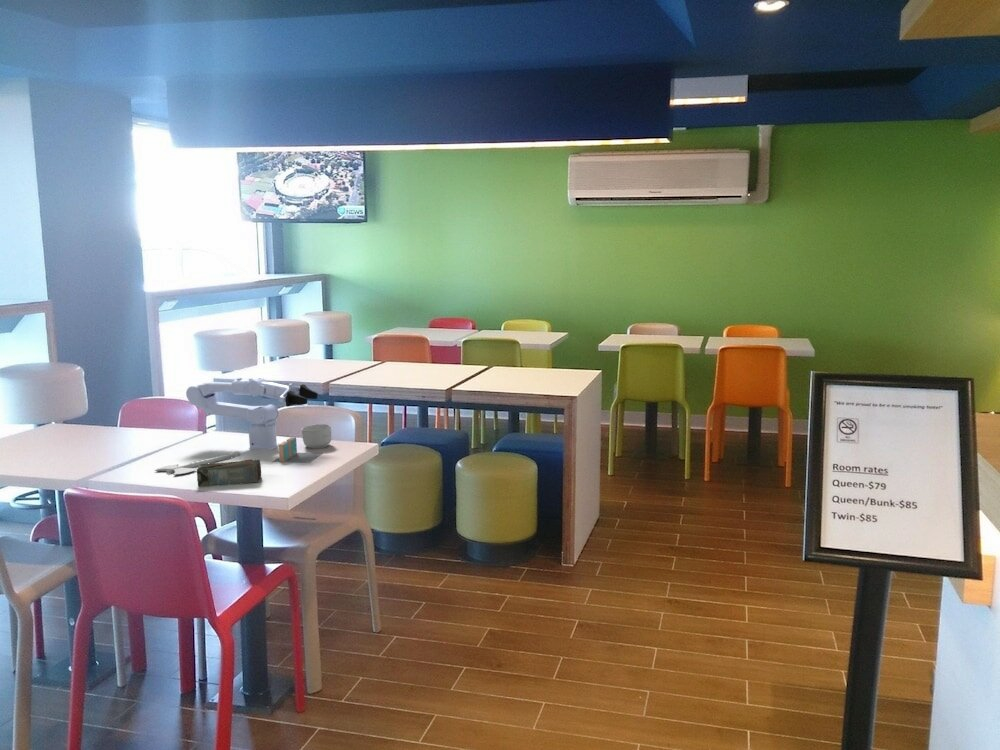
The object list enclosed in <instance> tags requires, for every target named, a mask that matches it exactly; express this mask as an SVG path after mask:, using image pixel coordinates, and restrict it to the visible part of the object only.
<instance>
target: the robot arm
mask: <svg viewBox="0 0 1000 750" xmlns="http://www.w3.org/2000/svg"><path fill="white" fill-rule="evenodd" d="M222 392H224V393H225V392H231V393H232V394H233V395H235V396H237V395H238V396H239V395H241V396H252V397H258V396H261V397H265V398H269V399H275V400H278V402H279V403H283V404H284V403H285V406H286V407H290V406H297V405H300V406H301V405H302V406H303V405H308V399H310V400H316V399H318V394H319V393H318V392H316V391H314V390H312V389H311V388H309V387H308V386H307V385H306V384H300V385H299V386H294V383H291V382H290V383H289V384H288V385H286V384H281V383H278V382H277V383H276V382H272V381H271V382H270V381H267V380H266V379H264V378H257V379H254V378H252V377H251V378H248V379H243V378H242V377H238V378H236V379H234V380H232V382H225V381H224V382H223V381H222V382H220V381H218V382H217V381H211V382H203V383H202V384H197V385H192V386H189V387H188V388H187V389H186V392H185V394H186V395H185V396H186V398H187V400H188V402H189V404H190V405H193V406H196V407H198V408H199V409H201V411H203V412H205V413H206V414H208V415H214V416H221V417H222V416H223V417H229V418H237V419H245V420H247V421H248V422H251V423H252V424H251V425H250V426H249V428H248V440H249V442H248V443H249V447H248V449H249V450H250V449H251V450H252V449H253V450H274V449H276V448H278V447H279V444H280V443H277V442H278V441H277V428H276V422H277V421H276V420H277V419H278V417H279V413H280V412H279V409H278V407H277V406H276V405H274V404H272V403H271V404H266V405H247V404H240V403H239V404H237V403H231V402H223V401H218V400H219V399H218V397H217V395H216V394H217V393H222Z"/></svg>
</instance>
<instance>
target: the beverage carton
mask: <svg viewBox="0 0 1000 750" xmlns="http://www.w3.org/2000/svg"><path fill="white" fill-rule="evenodd" d="M261 478H262V466H261V460H260V459H252V458H251V459H247V460H240V461H239V460H238V461H237V460H236V461H226V462H214V463H210V464H200V465H199V466H198V467H197V469H196V482H197V487H199V488H202V487H216V486H217V485H219V486H228V484H231V485H239V484H240V483H243V484H253V483H252V482H256V483H259V482H260V481H261Z"/></svg>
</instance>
